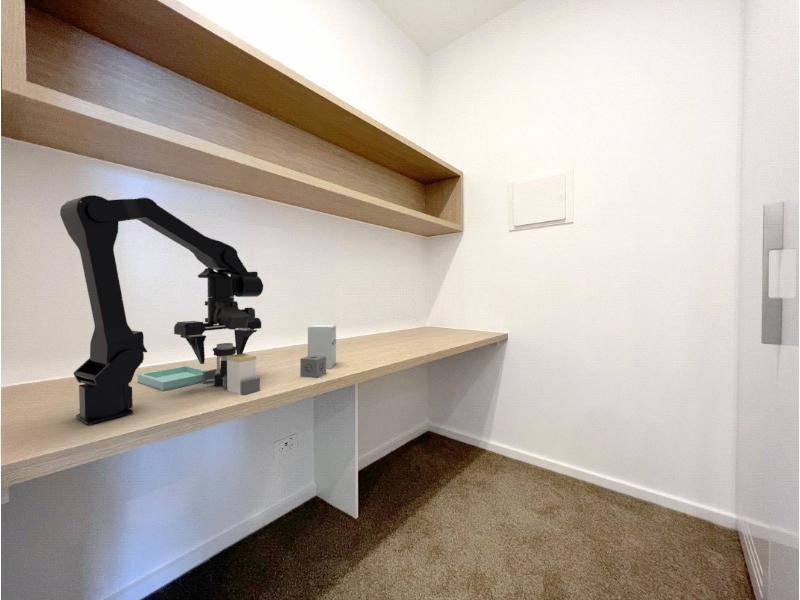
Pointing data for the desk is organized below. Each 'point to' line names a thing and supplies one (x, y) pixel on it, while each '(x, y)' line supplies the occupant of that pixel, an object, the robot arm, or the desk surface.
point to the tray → (172, 377)
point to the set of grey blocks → (246, 385)
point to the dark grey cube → (313, 366)
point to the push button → (222, 361)
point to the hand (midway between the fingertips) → (221, 360)
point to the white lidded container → (239, 370)
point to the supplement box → (323, 342)
